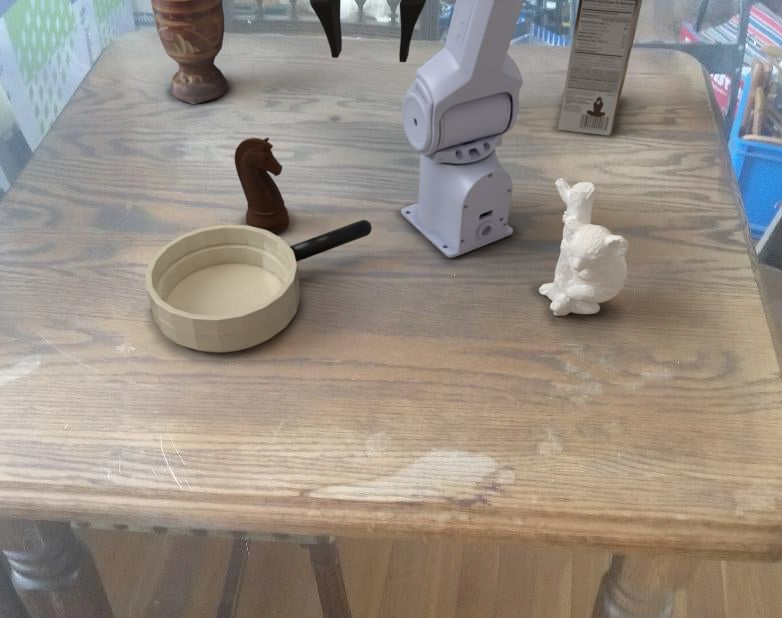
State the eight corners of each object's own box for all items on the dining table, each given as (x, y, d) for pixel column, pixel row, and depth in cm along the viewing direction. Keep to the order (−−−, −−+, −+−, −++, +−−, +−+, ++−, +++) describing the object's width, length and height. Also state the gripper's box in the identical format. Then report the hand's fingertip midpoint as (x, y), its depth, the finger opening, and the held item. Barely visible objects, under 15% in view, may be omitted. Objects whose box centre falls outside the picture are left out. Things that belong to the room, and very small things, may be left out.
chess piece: (281, 239, 90) (272, 154, 83) (236, 232, 91) (223, 147, 84) (295, 214, 93) (288, 129, 86) (251, 208, 94) (240, 124, 87)
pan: (325, 322, 81) (323, 284, 78) (188, 377, 77) (179, 340, 74) (260, 245, 90) (256, 208, 86) (134, 291, 86) (124, 254, 82)
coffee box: (567, 93, 108) (590, -43, 96) (620, 99, 106) (650, -39, 94) (556, 131, 102) (579, -10, 90) (612, 137, 100) (643, -5, 88)
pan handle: (288, 268, 83) (287, 255, 82) (281, 259, 84) (280, 246, 83) (374, 236, 86) (374, 222, 85) (366, 228, 87) (366, 214, 86)
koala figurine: (515, 290, 83) (532, 182, 74) (572, 268, 85) (595, 160, 76) (571, 343, 78) (596, 233, 69) (630, 318, 79) (662, 208, 70)
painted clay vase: (151, 75, 116) (118, -88, 102) (210, 59, 119) (187, -103, 104) (181, 112, 109) (150, -58, 94) (243, 94, 111) (223, -74, 97)
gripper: (447, -89, 88) (439, 43, 98) (309, -93, 91) (315, 36, 101) (437, -63, 83) (430, 73, 93) (292, -68, 86) (300, 64, 96)
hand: (370, 56), depth 97 cm, fingers open, 7 cm apart
